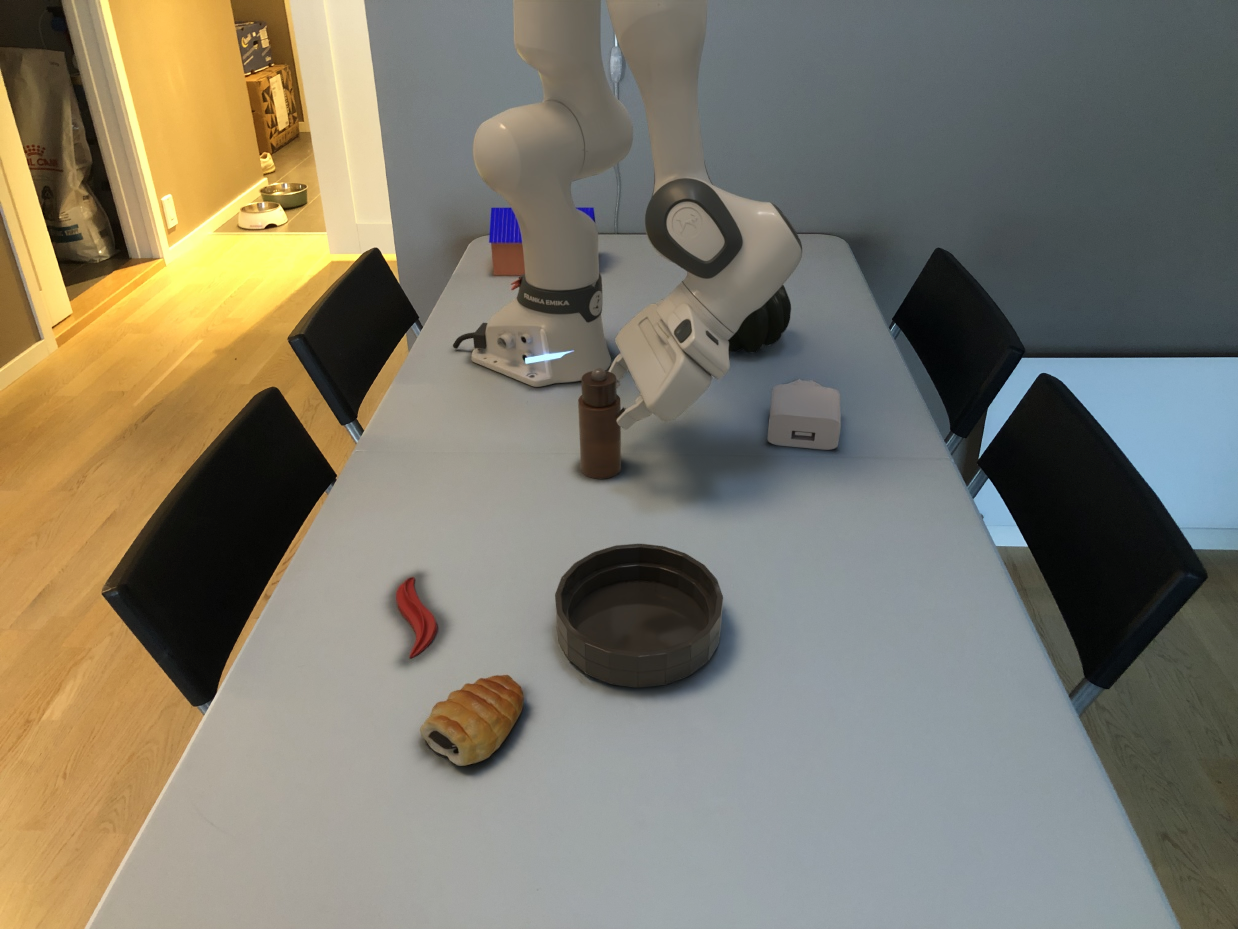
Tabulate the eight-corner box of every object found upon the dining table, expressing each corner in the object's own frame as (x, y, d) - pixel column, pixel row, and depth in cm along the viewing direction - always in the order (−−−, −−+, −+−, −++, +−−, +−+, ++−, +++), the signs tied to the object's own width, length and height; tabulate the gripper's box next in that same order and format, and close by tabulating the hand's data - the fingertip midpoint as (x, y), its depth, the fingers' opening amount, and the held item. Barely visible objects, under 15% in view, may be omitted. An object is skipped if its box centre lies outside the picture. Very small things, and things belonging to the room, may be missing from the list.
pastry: (488, 676, 81) (485, 647, 79) (544, 708, 78) (542, 679, 76) (415, 743, 75) (409, 713, 73) (472, 781, 72) (468, 751, 70)
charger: (835, 397, 127) (837, 451, 115) (772, 392, 128) (766, 444, 116) (839, 368, 124) (841, 420, 112) (775, 363, 126) (769, 413, 114)
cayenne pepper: (433, 656, 84) (430, 642, 83) (385, 659, 83) (381, 645, 82) (443, 576, 94) (441, 562, 93) (400, 578, 93) (398, 565, 92)
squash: (823, 315, 139) (776, 233, 138) (766, 347, 130) (717, 260, 130) (765, 348, 150) (723, 273, 150) (710, 380, 142) (665, 300, 141)
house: (593, 275, 170) (592, 216, 163) (491, 275, 170) (486, 216, 164) (596, 255, 180) (595, 198, 173) (500, 255, 180) (495, 198, 174)
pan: (526, 653, 84) (522, 619, 82) (607, 559, 96) (606, 527, 93) (676, 715, 77) (678, 680, 75) (744, 606, 89) (747, 573, 87)
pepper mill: (573, 472, 111) (568, 373, 103) (593, 453, 115) (590, 356, 107) (608, 483, 109) (606, 382, 101) (628, 463, 112) (627, 364, 105)
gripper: (653, 278, 110) (580, 355, 114) (697, 344, 93) (609, 432, 97) (685, 307, 113) (613, 382, 117) (734, 377, 96) (648, 461, 100)
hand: (612, 405), depth 107 cm, fingers open, 8 cm apart
